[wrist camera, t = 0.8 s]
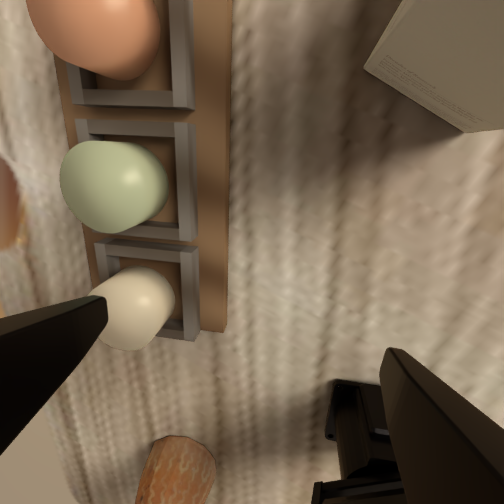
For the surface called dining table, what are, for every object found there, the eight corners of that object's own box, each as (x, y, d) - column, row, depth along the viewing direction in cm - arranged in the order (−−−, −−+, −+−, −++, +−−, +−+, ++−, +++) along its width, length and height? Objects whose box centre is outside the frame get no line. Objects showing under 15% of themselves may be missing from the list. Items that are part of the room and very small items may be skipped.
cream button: (176, 328, 21) (157, 355, 18) (117, 320, 22) (90, 345, 19) (173, 269, 19) (152, 289, 17) (109, 262, 20) (77, 280, 17)
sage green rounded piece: (170, 223, 18) (147, 237, 15) (103, 217, 19) (68, 229, 16) (166, 144, 17) (139, 142, 14) (92, 140, 17) (51, 138, 14)
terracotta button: (162, 81, 15) (132, 66, 13) (83, 80, 16) (38, 65, 13) (156, -32, 14) (120, -78, 11) (68, -28, 14) (12, -71, 12)
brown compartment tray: (226, 325, 24) (218, 345, 21) (106, 308, 25) (85, 325, 23) (232, -31, 16) (220, -64, 13) (55, -24, 17) (15, -52, 15)
